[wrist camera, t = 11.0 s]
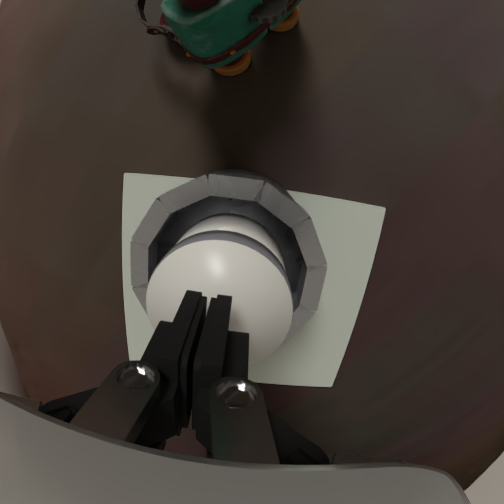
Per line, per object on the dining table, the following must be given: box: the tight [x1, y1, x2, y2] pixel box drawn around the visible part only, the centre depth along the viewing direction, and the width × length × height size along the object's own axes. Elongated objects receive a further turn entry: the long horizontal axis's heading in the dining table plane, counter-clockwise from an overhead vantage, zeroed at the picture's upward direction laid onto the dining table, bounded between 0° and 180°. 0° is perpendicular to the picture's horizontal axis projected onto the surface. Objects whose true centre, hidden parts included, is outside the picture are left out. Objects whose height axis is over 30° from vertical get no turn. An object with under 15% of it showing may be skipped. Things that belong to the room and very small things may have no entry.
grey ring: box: [130, 169, 327, 347], centre depth 18 cm, size 10×10×6 cm
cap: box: [146, 213, 293, 366], centre depth 14 cm, size 6×6×5 cm
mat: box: [122, 173, 386, 387], centre depth 22 cm, size 18×16×1 cm
